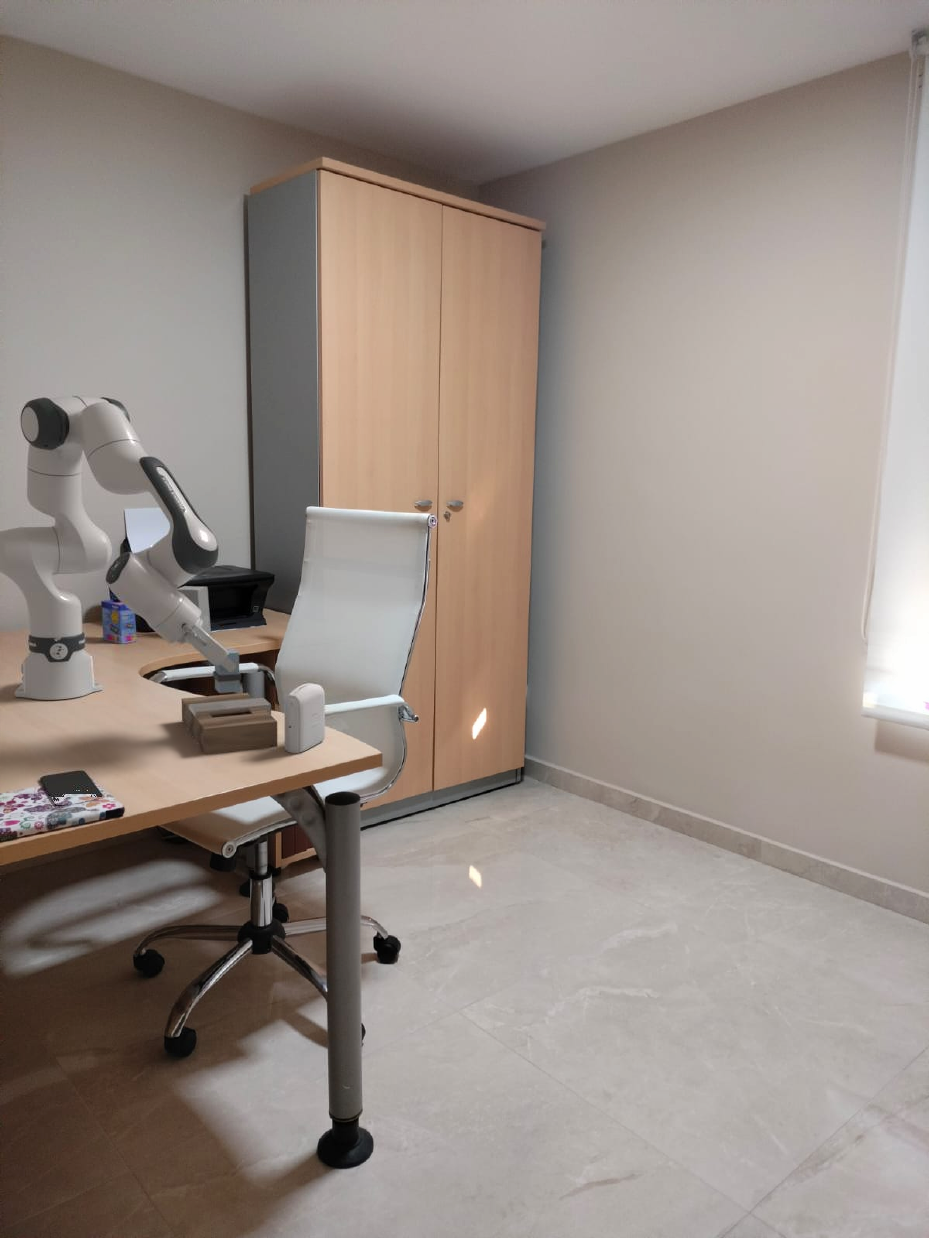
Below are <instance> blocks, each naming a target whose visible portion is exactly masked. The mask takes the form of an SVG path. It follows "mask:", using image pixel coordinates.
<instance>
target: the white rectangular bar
mask: <svg viewBox="0 0 929 1238" xmlns="http://www.w3.org/2000/svg"><path fill="white" fill-rule="evenodd" d="M189 709H190V711H191V712H192V713H193V715H194V716H195V717H197V716H207V715H218V714H228V713H239V712H249V711H259V710H266V711H267V712H268V713H269V714H270V715H271V716H272V705H271V703H270V702H269V701H268V700H267V699H265V697H256V698H253V699H243V700H232V701H221V702H210V703H199V704H189Z"/></svg>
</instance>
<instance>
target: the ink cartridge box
mask: <svg viewBox="0 0 929 1238" xmlns="http://www.w3.org/2000/svg"><path fill="white" fill-rule="evenodd" d="M109 596H110V598H111V599H104V600H101V602H100V604H101V622H102V637H103V640H104V641H107V642H111V643H116V644H119V645H123V644H129V643H135V642H137V628H136V627H137V626H136V614H135V613H134V612H132V611H131V610H130V609H129V608H128V607H127V606H126V605H124V604H123V603H122V602H121V601H120V600H119V599H118V598H117V597H116V596H115V594H114V593H113V594H112V593H109ZM114 597H115V598H114Z"/></svg>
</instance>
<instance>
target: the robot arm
mask: <svg viewBox="0 0 929 1238" xmlns="http://www.w3.org/2000/svg"><path fill="white" fill-rule="evenodd" d="M20 427H21V431H22V435H23V437H24V438H25V440H26V441H27V442H28V443H29V445H28V452H27V472H26V473H27V474H26V475H27V476H26V477H27V479H26V497H27V499H28V500H27V502H29V504H30V506H31V507H32V508H34V509H35V510H37V511H38V512H40V513H42V514H44V515H46V516H49V517H52V518H53V519H54V525H51V526H26V527H25V526H24V527H23V526H22V527H21V526H20V527H15V528H9V529H5V530H1V531H0V573H1V574H2V575H5V576H6V577H7V578H9V579H10V580H11V581H12V582H14V584H15V585H16V586H18V588H19V590H20V591H21V592H22V594H23V596H24V598H25V599H24V600H25V601H26V605H27V610H28V611H27V612H28V618H29V629H30V630H29V631H30V634H29V635H28V640H27V641H28V642H27V644H28V650H29V653H28V655H27V656H26V657H25V658H24V660H22V663H21V667H20V669H21V670H20V671H21V674H22V677H21V680H22V683H21V684H20V685H19V687H17V688H16V690H15V691H14V697H16V698H27V699H34V700H47V701H49V700H50V701H51V700H52V701H53V700H67V699H73V698H79V697H83V696H87V695H89V694H91V693H94V692H99V691H102V690H103V688H104V687H103V685H102V684H101V683H99V682H98V681H96V680H95V676H94V664H93V663H94V662H93V661H94V660H93V657H92V655H90V653H88V652H87V651H86V650H85V648H86V637H85V632H83V618H82V617H83V615H82V603H81V601H80V599H79V597H77V595H75V594H74V593H72V592H71V591H70V592H69V591H68V590H66V589H64V588H60V587H59V586H56V585H55V582H54V581H53V576H56V575H73V574H74V575H76V574H87V573H90V572H95V571H99V570H103V569H105V568H106V567H107V566H108V564H109V563H110V561H111V558H112V555H113V547H112V542H111V540H110V538H109V536H108V534H107V533H105V531H104V530H102V529H101V528H99V527H98V526H97V525H95V524H94V522H93V521H92V520H91V519H90V518H89V515H88V514H87V512H86V509H85V507H84V503H83V486H82V485H83V453H84V456H85V459H86V461H87V463H88V466H89V469H90V472H91V473H92V476H93V477H94V479H95V480H96V482H97V483H98V485H99V486H100V488H102V489H104V490H106V491H107V492H109V493H112V494H115V495H123V496H128V495H138V494H143V493H149V494H150V495H151V496H152V497H153V499H154V500H155V502H156V503H157V505H158V507H159V508H160V510H161V511H162V513H163V514H164V517H165V518H166V519H167V521H168V524H169V530H168V532H167V534H166V535H164V536H163V537H162V538H161V539H159V540H158V541H156V542H155V543H153V544H152V545H150V546H149V547H148V548H145V549H143V550H140V551H137V552H132V551H126V552H124V553H122V554H121V555H119V556H118V557H117V558H116V559H115V560H114V561H113V563H112V564H111V565H110V566H109V568H108V570H107V572H106V576H105V583H106V585H107V586H108V588H109V589H110V591H111V592H112V593H113V595H115V596H116V597H117V598H118V599H119V600H120V601H121V602H122V603H123V604H124V605H126V606H127V607H128V608H129V609H130V610H131V611H132V612H134V613H135V615H138V616H140V617H141V618H143V620H145V621H146V623H147V625H148V626H149V627H150V628H151V629H152V630H153V631H154V632H155V633H156V634H158V635H159V636H160V637H161V638H163V639H164V640H165V641H166V642H167V643H168V644H174V643H176V642H177V643H178V644H180V645H184V644H186V643H187V644H189V645H190V646H192V647H193V648H194V649H195V650H196V651H197V652H199V654H201V655H202V656H203V657H204V658H205V659H207V660H208V662H210V663H211V665H213V666H214V667H215V666H218V665H222V666H223V667H224V668H226V669H227V670H228V671H229V672H232V671H233V670H234V669H235V668H236V665H235V664H234V663H233V662H232V661H231V660H230V659H229V658H228V657H227V656H228V655H229V653H228V651H227V649H226V648H225V647H223V646H222V645H221V644H220V643H219V642H218V641H217V640H216V639H215V638H214V637H212V635H211V634H210V635H209V634H208V633H207V632H205V631H204V629H203V628H202V627H201V626H202V624H203V620H202V619H200V618H199V617H200V615H201V610H200V609H199V608H198V607H197V606H196V605H195V604H193V603H192V602H191V601H190V600H189V599H188V598H187V597H186V596H185V595H183V594H182V593H181V592H179V591H177V589H178V588H180V587H182V586H183V585H185V584H186V583H187V582H189V581H190V580H192V579H193V578H194V577H196V576H197V575H200V574H201V573H202V574H203V573H204V572H205V571H207V570H209V569H211V568H213V567H214V566H215V565H216V563H217V562H218V558H219V543H218V539H217V537H216V535H215V534H214V532H213V531H212V530H211V529H210V527H208V525H207V524H206V523H205V522H204V520H202V518H201V517H200V515H199V514H198V512H197V510H195V508H194V506H193V505H192V503H191V501H190V500H189V498H188V497H187V495H186V493H185V492H184V491H183V488H182V487H181V486H180V484H179V482H178V481H177V480H176V478H175V477H174V475H173V473H172V472H171V471H170V470H169V468H168V467H167V466H166V465H165V464H164V462H163V461H161V460H160V459H159V458H158V457H155V456H150V455H148V453H146V452H147V451H145V449H144V448H143V444H142V443H141V441H140V439H139V437H138V435H137V433H136V431H135V429H134V427H133V426H132V423H131V418H130V414H129V413H128V410H127V408H126V407H125V406H124V404H123V403H122V402H120V401H119V400H116V399H113V398H109V397H94V396H85V395H84V396H83V395H72V396H63V397H62V396H61V397H51V398H49V397H39V398H35V399H31V400H29V401H27V402H26V403H25V404H24V406H23V408H22V410H21V413H20ZM116 597H115V598H116ZM117 598H116V599H117Z"/></svg>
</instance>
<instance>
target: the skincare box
mask: <svg viewBox="0 0 929 1238" xmlns="http://www.w3.org/2000/svg"><path fill="white" fill-rule="evenodd" d="M177 591H179V592H181V593H182V594H183V595H185V596H186V597H187V598H188V599H189V600H190V601H191V602H192V603H193V604H195V605H196V606H197V607H198V608H199V609H200V610H201V615H200V617H199V618H200V619H202V620H203V624H202V626H201V627H202V628H203V629H204V631H205V632H207V633H208V634H209V635H210V636H211V633H212V630H211V629H212V628H211V617H210V615H211V614H210V604H209V589H208V586H193V585H192V586H191V585H189V586H187V585H184V586H180V587H178V588H177Z"/></svg>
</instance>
